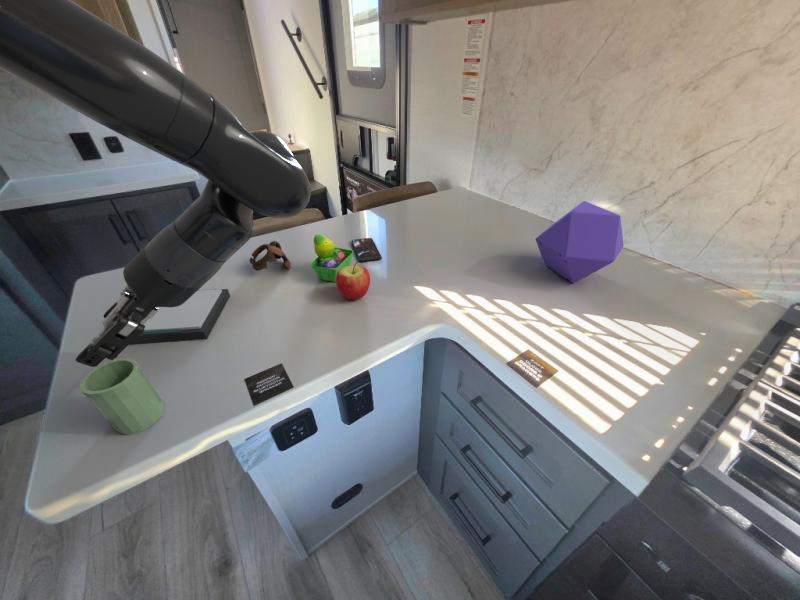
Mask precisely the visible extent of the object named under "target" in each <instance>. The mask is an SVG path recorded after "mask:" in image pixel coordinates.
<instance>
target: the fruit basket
mask: <svg viewBox="0 0 800 600" xmlns="http://www.w3.org/2000/svg"><path fill="white" fill-rule="evenodd" d="M313 246H314V253H315V254H316V256H317V257H316V258H315V259H314V260H313V261H312V262H311V263H310V266H311V267H312V269H313V271H314V273H315V274H316V277H317V278H318V279H319V280H321V281H322V280H323V281H326V282H332V283H336V275H337V272H338V271H339V270H340V269H341V268H343V267H346V266H350V265H351V263H352V257H353V255H354V250H352V249H348V248H342V247H336V245H335V242H333V241H332V240H331V239H329V238H328V237H326V236H325V235H323V234H315V235H314V237H313Z"/></svg>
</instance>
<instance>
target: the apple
mask: <svg viewBox="0 0 800 600" xmlns="http://www.w3.org/2000/svg"><path fill="white" fill-rule="evenodd" d="M359 262H360V261H359V260H358V259H357V260H356V261H355V264H350V266H346V267H343V268H341V269H340V270H339V271H338V272H337V275H336V282H335V284H336V288H337V290H338V292H339V293H340V294H341V296H343V297H344V298H346V299H348V300H358V299H361V298H363V297H364V296H365V295H366V294H367V293H368V291H369V288H370V285H371V275H370V272H369V269H367V267H364V266H362V265H359V264H358V263H359Z"/></svg>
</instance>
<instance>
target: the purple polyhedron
mask: <svg viewBox="0 0 800 600" xmlns="http://www.w3.org/2000/svg"><path fill="white" fill-rule="evenodd" d="M622 228H623V227H622V219H621V215H620V214H618V213H616V212H613V211H610V210H608V209H605V208H602V207H601V206H598V205H595V204H594V203H591V202H588V201H585V200H583V201H581V202H580V203H579V204H578V205H576V206H575V207H573V208H572V209H570V211H569V212H567V213H565V214H564V215H563V216H562V217H560V218H559V219H557V220H556V221H555V222H554V223H552V224H551V225H550V226H549V227H547V228H546V229H545V230H544V231H543V232H541V233H540V234H539V235H537V237H535V242H536V243H537V244H536V245H537V247H538V250H539V253H540V256H541V258H542V260H543V263H544V265H545V266H546V267H547V268H549V269H551V270H552V271H554V273H556V274H558V275H560V276H561V277H562V278H563V279H565V280H568V282H570V283H571V284H572V285H573V284H575V283H577V282H580V281H581V280H583V279H585V278H586V277H589V276H590V275H592V274H594V273H596V272H598V271H599V270H602V269H603V268H605V267H607V266H609V265H610V264H613V263H614V262H615V261H616V259H617V257H618V256H619V254H620V253H621V251H622V249H624V247H625V246H624V245H625V244H624V236H623V229H622Z"/></svg>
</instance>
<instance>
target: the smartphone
mask: <svg viewBox="0 0 800 600" xmlns="http://www.w3.org/2000/svg"><path fill="white" fill-rule="evenodd" d="M351 244H352V247H353V249H354V251H355V254H356V257H357V260H359V261H358V262H359V263H366V262H374V261H381V260H382V259H383V257H382V255H381V253H380V251H379V249H378V247H377V244H376V242H375V240H374V239H373V238H372V237H364V238H356V239H355V238H354V239H352V240H351Z"/></svg>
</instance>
